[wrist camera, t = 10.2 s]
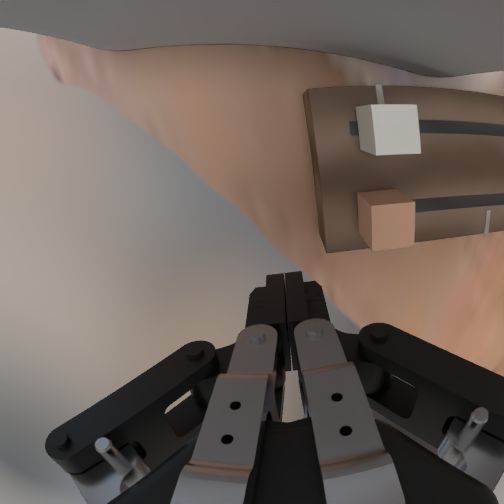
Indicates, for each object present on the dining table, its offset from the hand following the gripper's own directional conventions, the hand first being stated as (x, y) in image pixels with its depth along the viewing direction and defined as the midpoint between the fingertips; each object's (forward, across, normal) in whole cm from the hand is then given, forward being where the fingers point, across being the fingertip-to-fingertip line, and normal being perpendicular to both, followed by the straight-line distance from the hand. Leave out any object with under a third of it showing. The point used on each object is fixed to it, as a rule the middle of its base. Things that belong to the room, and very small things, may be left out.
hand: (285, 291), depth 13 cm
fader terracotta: (+9, -7, 0) cm, 12 cm away
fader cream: (+9, -8, -6) cm, 13 cm away
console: (+14, -13, -3) cm, 19 cm away
